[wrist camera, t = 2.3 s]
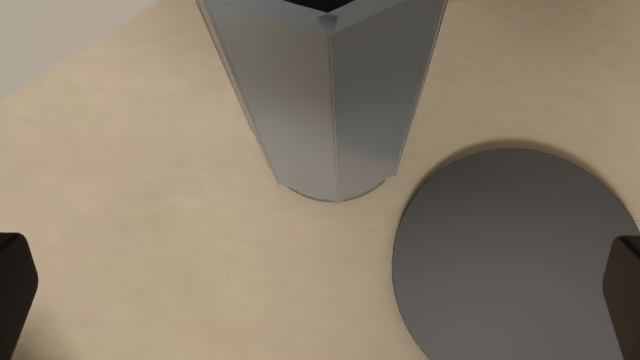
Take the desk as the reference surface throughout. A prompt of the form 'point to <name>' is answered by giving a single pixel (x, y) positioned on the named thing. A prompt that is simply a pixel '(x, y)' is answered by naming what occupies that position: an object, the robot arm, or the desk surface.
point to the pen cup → (327, 84)
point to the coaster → (509, 260)
